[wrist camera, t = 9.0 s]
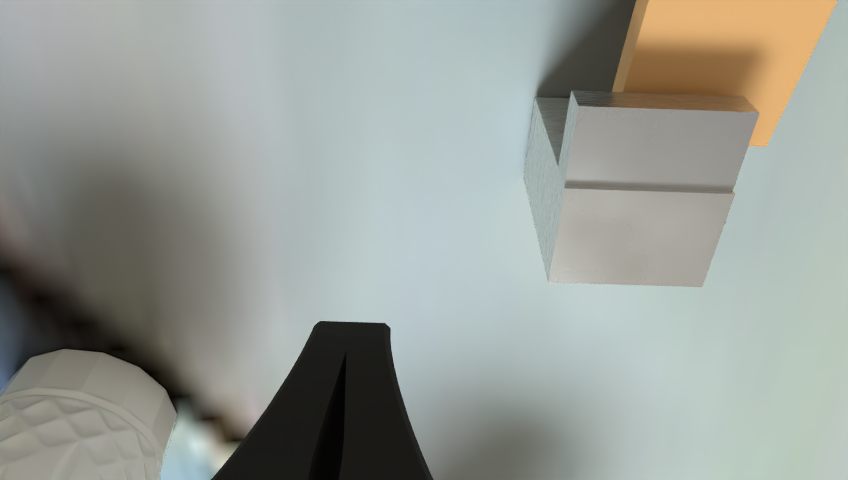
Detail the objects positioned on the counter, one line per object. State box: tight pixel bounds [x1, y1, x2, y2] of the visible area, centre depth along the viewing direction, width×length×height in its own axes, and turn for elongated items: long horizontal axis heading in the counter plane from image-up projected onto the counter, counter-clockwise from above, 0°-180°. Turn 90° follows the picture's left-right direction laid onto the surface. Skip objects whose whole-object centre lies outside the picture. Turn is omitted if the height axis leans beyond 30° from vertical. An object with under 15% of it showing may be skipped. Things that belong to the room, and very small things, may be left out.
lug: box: [524, 90, 760, 287], centre depth 18 cm, size 4×5×5 cm
